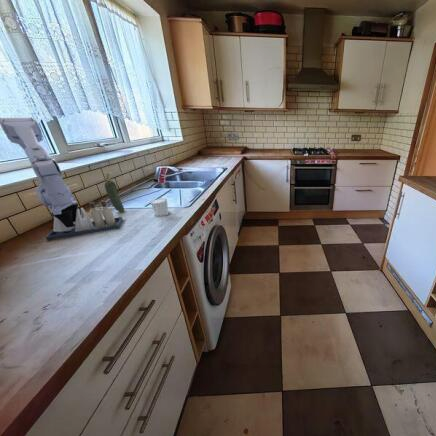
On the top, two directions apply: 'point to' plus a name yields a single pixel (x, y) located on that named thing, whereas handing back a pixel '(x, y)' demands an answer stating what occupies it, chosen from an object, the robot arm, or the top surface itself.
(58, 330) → the top surface
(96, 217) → the bottle
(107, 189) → the vegetable
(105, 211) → the bottle
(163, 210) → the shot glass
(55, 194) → the robot arm
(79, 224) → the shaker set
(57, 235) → the tray
